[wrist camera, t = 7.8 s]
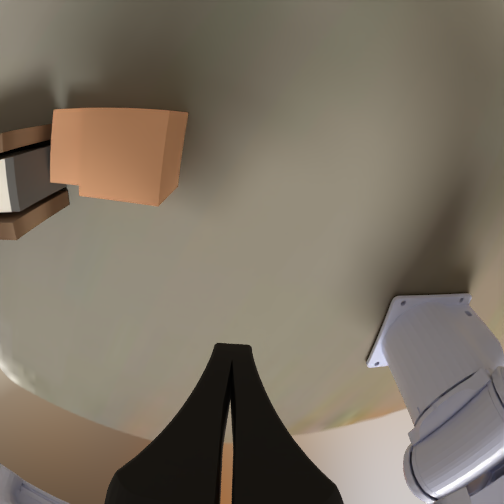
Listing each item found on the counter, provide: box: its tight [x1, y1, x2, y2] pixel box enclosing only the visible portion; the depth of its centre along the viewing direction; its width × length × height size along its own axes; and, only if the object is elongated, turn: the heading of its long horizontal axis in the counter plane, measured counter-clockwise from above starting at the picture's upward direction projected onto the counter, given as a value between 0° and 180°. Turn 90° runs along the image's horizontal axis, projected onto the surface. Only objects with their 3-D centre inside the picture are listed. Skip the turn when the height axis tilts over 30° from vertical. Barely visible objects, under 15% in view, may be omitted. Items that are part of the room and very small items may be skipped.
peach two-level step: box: [50, 108, 188, 206], centre depth 13 cm, size 8×4×4 cm, turn 79°
